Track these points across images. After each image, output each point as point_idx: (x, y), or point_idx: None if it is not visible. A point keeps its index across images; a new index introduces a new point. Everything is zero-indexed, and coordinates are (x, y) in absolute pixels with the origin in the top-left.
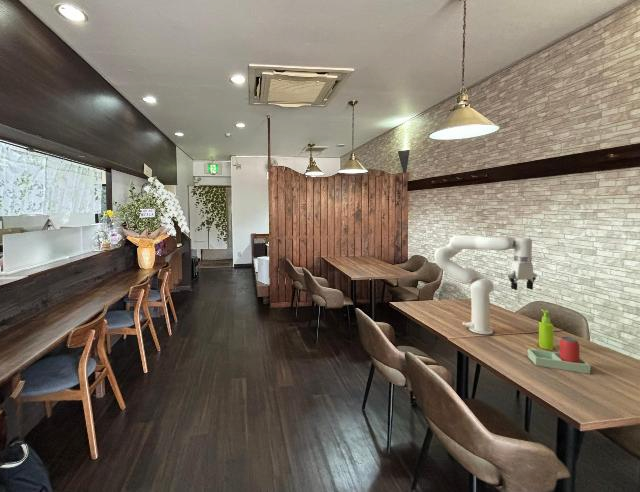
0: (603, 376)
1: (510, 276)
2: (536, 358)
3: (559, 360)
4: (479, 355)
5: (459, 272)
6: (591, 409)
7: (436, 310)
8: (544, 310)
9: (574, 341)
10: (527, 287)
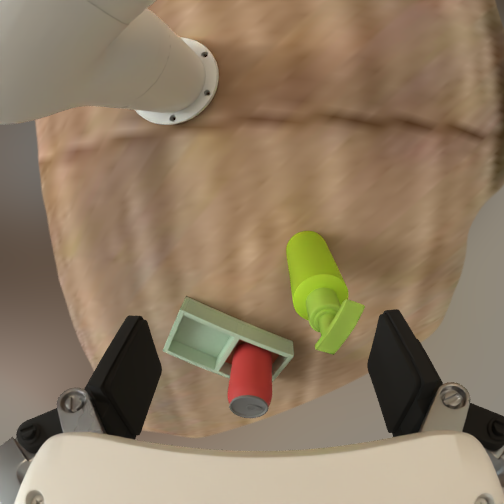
0: (282, 384)
1: (21, 476)
2: (164, 350)
3: (211, 369)
4: (66, 276)
5: None
6: (158, 423)
7: None
8: (334, 334)
9: (245, 417)
10: (382, 329)
